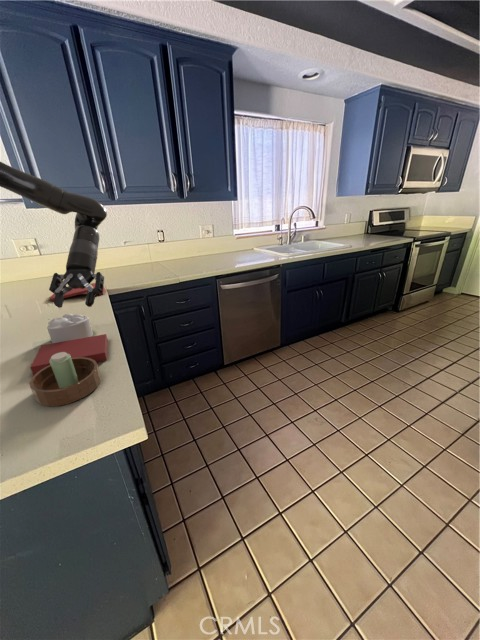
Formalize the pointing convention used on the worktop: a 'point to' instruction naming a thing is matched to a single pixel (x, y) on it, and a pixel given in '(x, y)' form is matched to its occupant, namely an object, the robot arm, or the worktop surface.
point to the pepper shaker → (63, 369)
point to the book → (72, 350)
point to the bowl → (51, 395)
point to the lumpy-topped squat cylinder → (69, 328)
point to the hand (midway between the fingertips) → (73, 306)
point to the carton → (76, 292)
